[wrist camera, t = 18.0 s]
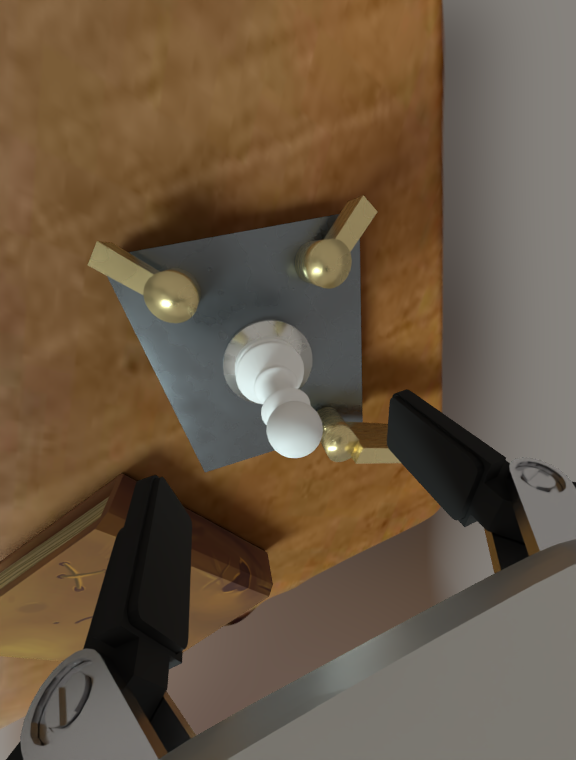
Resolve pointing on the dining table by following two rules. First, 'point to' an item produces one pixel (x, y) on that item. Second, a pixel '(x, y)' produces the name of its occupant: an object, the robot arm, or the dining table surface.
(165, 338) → the levelling plate
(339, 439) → the brass lever
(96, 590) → the diary
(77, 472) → the dining table surface
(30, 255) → the dining table surface
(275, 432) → the chess pawn
